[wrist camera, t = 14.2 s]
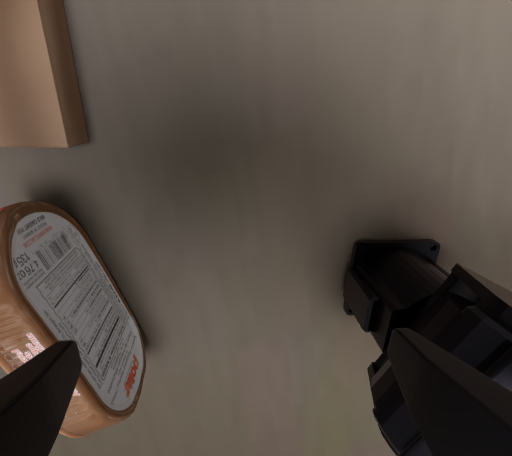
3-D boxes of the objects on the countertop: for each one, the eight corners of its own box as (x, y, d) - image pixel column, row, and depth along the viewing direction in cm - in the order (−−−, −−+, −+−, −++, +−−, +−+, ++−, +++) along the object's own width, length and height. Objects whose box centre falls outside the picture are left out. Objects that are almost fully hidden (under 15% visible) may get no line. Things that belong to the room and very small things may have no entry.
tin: (21, 194, 19) (-121, 254, 12) (66, 179, 19) (-47, 231, 11) (127, 358, 25) (79, 472, 17) (162, 348, 25) (130, 458, 17)
